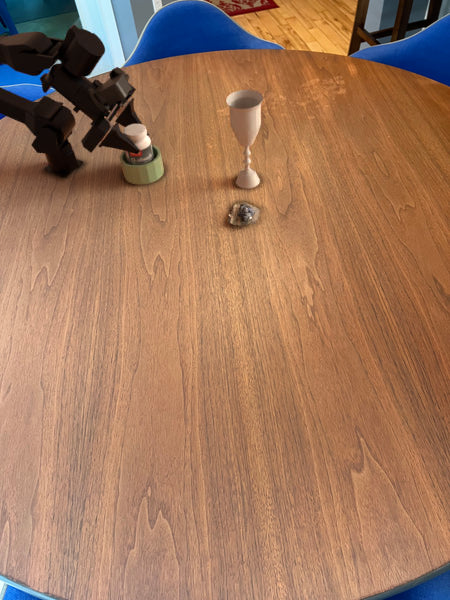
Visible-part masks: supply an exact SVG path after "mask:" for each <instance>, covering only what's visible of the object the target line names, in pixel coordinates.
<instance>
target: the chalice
mask: <svg viewBox="0 0 450 600" xmlns="http://www.w3.org/2000/svg"><path fill="white" fill-rule="evenodd" d="M225 101H226V104H227V106H228V107H229V124H230V128H231V130H232V132H233V133H232V134H233V135H234V137H235V139H236V140H237V142H238V143H239V145H240V146H242V147H243V148H244V149H243V152H242V155H243V157H244V159H243V160H242V163H243V164H244V168H242V169H241V170H240V171H239V172H238V176H237V178H236V180H235V184H236V186H238V188H242V189H245V190H246V189H247V190H248V189H253V188H255V187H257V186H259V184H260V183H261V182H260V181H261V179H260V178H259V175H258V174H257V172H256V170H255V169H253V168H251V167H250V164H251V163H252V160H251V158H250V156H251V151H250V146H252V145H253V144H254V142H255V140H256V139H257V136H258V133H259V131H260V128H261V125H262V111H261V110H262V109H261V108H262V107H261V105H262V103H263V101H264V96H263V94H262V92H260V91H258V90H255V89H247V88H246V89H240V90H236V91H234V92H231V93H230V94H228V95H227V97H226V100H225Z"/></svg>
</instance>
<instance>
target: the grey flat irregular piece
mask: <svg viewBox="0 0 450 600" xmlns="http://www.w3.org/2000/svg"><path fill="white" fill-rule="evenodd" d="M230 213H231V214H228V216H229V218H228V219H227V223H229V224H231V225H233V226H237V225H238V227H243V226H248V225H249V224H252V225H254V224H256V223H258V220H259V218H260V213H261V212H260V209H259V207H256V206H255V205H253V206H252V204H250V203H247V202H238V203H235V205H233V207H232V211H230Z"/></svg>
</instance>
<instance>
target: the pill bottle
mask: <svg viewBox="0 0 450 600" xmlns="http://www.w3.org/2000/svg"><path fill="white" fill-rule="evenodd" d="M142 124H143V123H142ZM142 124H131V125H128V126H127V127H123V130H122V131H123V132H122V133H123V134H124V135H125V136H126V137H127V138H129V139H130V140H131V141H132V142H133V143H134V144H135V145H136V146H137V147H138V148H139V149H140V152H139V153H138V154H134V153H131V152H127V151H125V153H126V157H127V161H128V164H129V165H144V164H147V163H149V162H152V161H153V160H154V156H153V151H152V145H153V144H152V140H151V138H150V136H147V132H148V130H147V127H146V125H144V124H143V125H142Z"/></svg>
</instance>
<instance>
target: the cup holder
mask: <svg viewBox="0 0 450 600" xmlns="http://www.w3.org/2000/svg"><path fill="white" fill-rule="evenodd" d="M151 145H152V151H153V156H154V160H153V161H152V162H149V163H147V164H144V165H129V164H128V161H127V157H126V153H125V151H123V150H122V152H121V153H120V155H119V163H120V166H121V170H122V174H123V177H124V179H125V180H126V181H127V182H128V183H130V184H133V185H136V186H137V185H138V186H140V185H141V186H142V185H148V184H152V183H154V182H156V181H159V179H161V177H162V176H163V175H164V172H165V167H164V163H163V158H162V153H161V149H160V148H159V147H158V146H157V145H154V144H151Z"/></svg>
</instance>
